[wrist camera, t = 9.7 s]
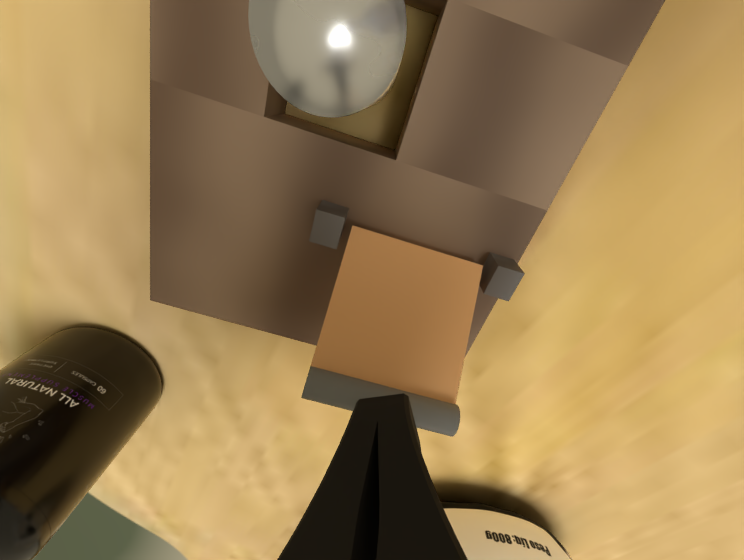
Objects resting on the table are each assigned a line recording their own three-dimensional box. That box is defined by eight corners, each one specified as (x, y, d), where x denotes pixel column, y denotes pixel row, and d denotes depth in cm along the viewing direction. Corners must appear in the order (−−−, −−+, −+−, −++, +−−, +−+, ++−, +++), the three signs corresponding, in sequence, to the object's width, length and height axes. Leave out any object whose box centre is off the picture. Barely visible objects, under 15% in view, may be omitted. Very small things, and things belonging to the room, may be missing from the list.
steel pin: (406, 20, 12) (422, -60, 6) (390, 114, 14) (390, 128, 7) (321, 4, 12) (247, -94, 6) (314, 100, 13) (249, 103, 7)
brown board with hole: (634, -21, 11) (733, -70, 8) (444, 348, 19) (454, 401, 15) (203, -197, 10) (112, -339, 7) (181, 274, 17) (132, 315, 14)
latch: (473, 270, 14) (491, 261, 12) (440, 429, 12) (456, 439, 11) (350, 232, 13) (354, 219, 12) (302, 393, 12) (300, 400, 10)
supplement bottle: (133, 315, 19) (-207, 601, 8) (184, 406, 22) (-13, 698, 11) (23, 328, 20) (-419, 603, 9) (87, 413, 23) (-184, 694, 12)
